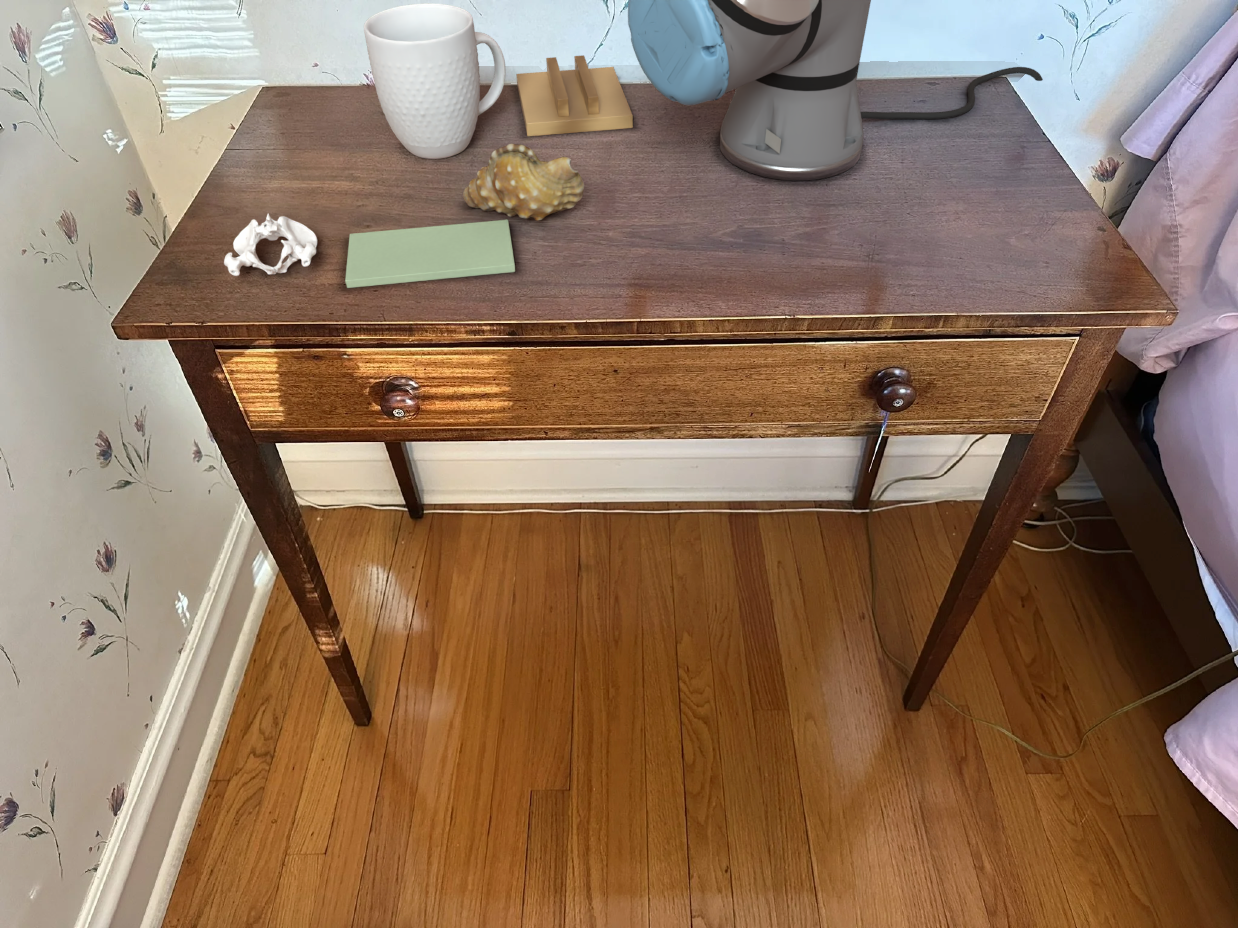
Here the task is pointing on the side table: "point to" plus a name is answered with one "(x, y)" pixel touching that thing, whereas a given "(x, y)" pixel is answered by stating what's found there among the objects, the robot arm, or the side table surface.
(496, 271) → the mat
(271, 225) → the anatomical pelvis
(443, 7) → the mug
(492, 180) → the seashell
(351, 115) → the side table surface
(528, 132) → the rack
